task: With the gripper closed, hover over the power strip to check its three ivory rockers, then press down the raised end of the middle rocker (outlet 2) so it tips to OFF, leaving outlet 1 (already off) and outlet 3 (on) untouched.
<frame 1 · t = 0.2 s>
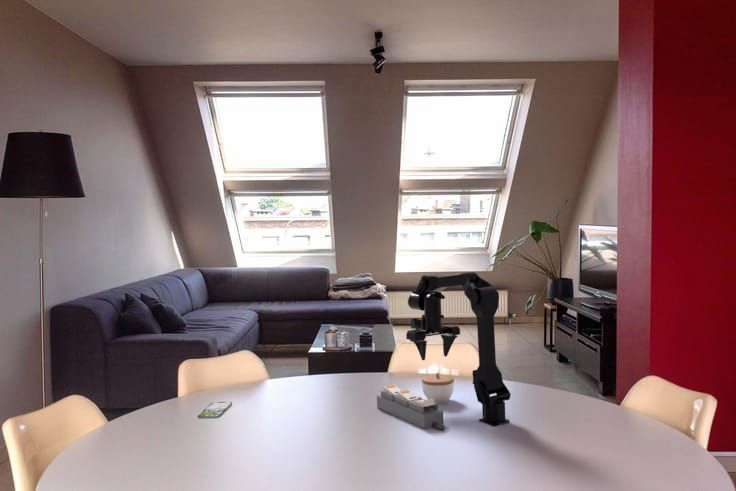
hand: (434, 358, 201), 14 cm above the table, fingers open, 9 cm apart
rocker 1: (423, 402, 180), point 6 cm above the table, hinge at 14.0°
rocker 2: (408, 396, 186), point 6 cm above the table, hinge at -14.0°
smartphone: (215, 412, 199), on the table
lidded jar: (438, 401, 201), on the table
power strip: (408, 415, 187), on the table
rocker 3: (393, 391, 193), point 6 cm above the table, hinge at -14.0°
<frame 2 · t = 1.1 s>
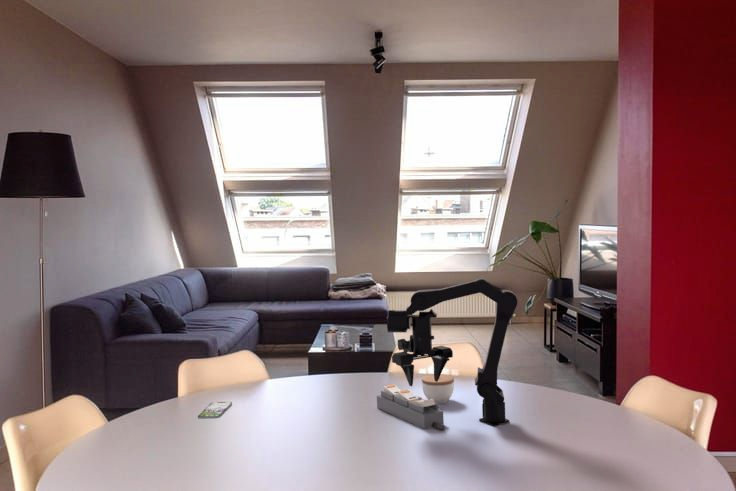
hand: (423, 383, 181), 11 cm above the table, fingers open, 9 cm apart
nothing on the table moved.
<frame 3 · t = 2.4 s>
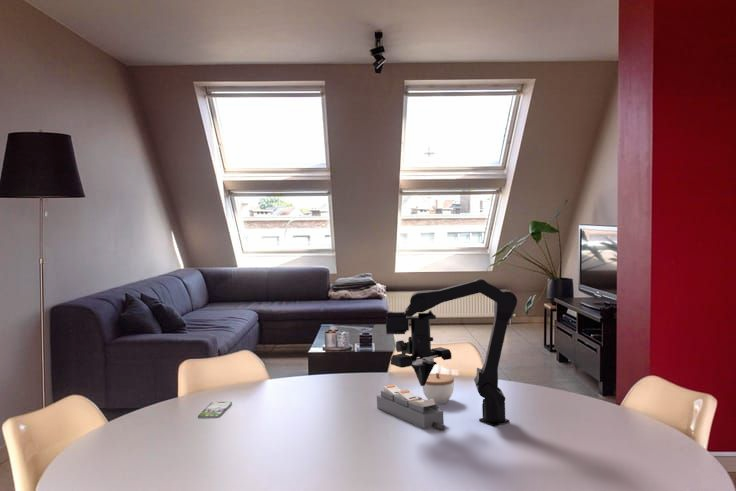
hand: (422, 385, 180), 11 cm above the table, fingers closed
nothing on the table moved.
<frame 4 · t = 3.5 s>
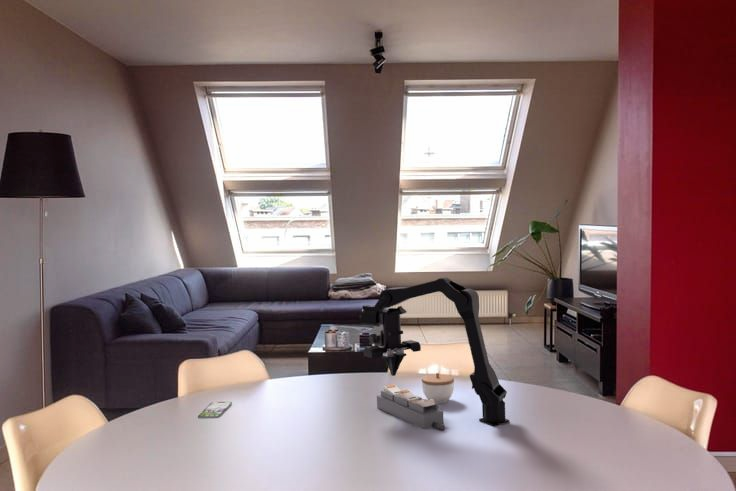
hand: (393, 375, 193), 11 cm above the table, fingers closed
nothing on the table moved.
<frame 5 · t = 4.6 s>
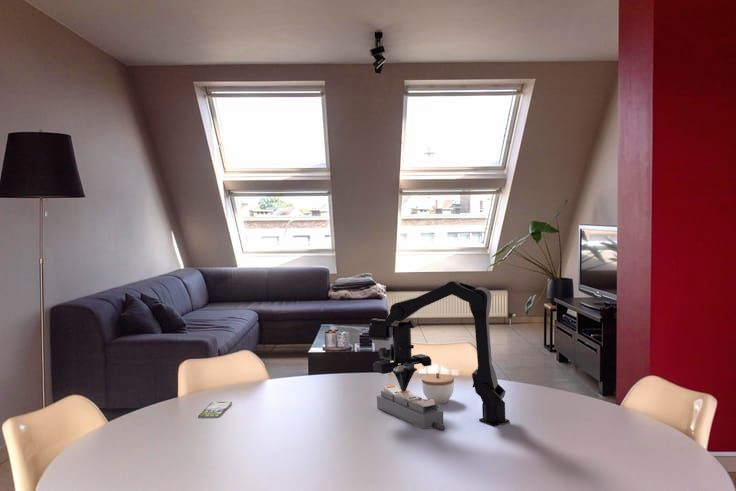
hand: (403, 390, 189), 7 cm above the table, fingers closed, pressing on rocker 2
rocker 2: (408, 396, 186), point 6 cm above the table, hinge at -13.7°, touching gripper
everything else where it was.
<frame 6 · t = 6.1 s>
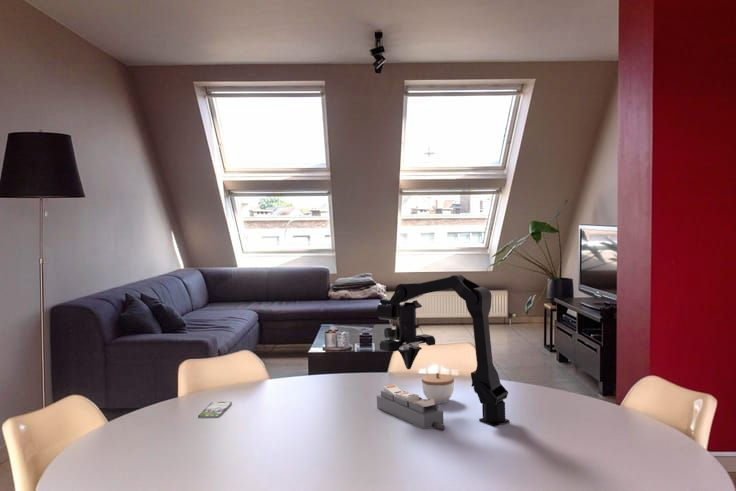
hand: (408, 369, 195), 12 cm above the table, fingers closed
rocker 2: (408, 396, 186), point 6 cm above the table, hinge at 4.2°
everything else where it was.
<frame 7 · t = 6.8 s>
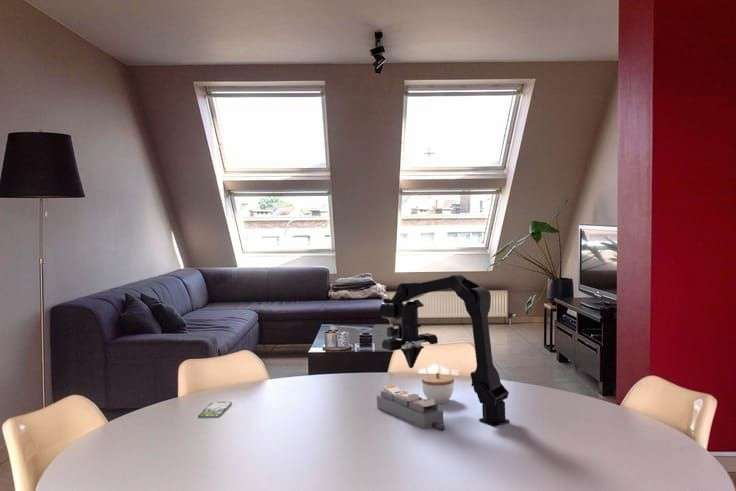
hand: (411, 367, 197), 12 cm above the table, fingers closed
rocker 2: (408, 396, 186), point 6 cm above the table, hinge at 7.9°
everything else where it was.
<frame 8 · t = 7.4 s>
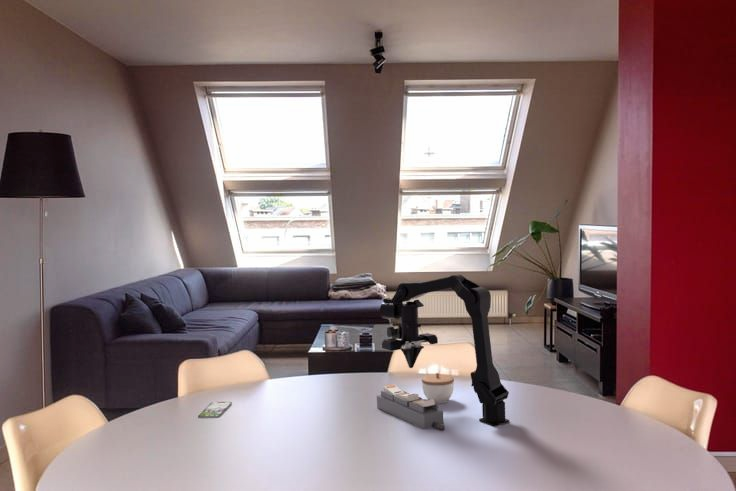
hand: (411, 367, 197), 12 cm above the table, fingers closed
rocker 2: (408, 396, 186), point 6 cm above the table, hinge at 9.9°
everything else where it was.
at the end: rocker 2 at +10° (first picture: -14°); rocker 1 at +14° (first picture: +14°); rocker 3 at -14° (first picture: -14°) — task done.
